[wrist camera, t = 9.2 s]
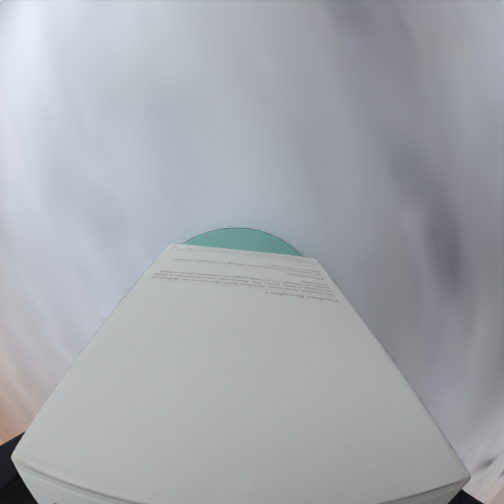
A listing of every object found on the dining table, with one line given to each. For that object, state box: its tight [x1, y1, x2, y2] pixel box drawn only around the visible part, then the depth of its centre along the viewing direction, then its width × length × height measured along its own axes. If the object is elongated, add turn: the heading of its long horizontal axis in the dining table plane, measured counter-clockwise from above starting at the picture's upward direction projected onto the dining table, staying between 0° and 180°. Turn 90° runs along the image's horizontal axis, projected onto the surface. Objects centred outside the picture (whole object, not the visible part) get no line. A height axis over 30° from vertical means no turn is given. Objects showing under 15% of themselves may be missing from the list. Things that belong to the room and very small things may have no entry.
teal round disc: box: [184, 228, 302, 257], centre depth 16 cm, size 9×9×1 cm
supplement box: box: [11, 243, 471, 504], centre depth 10 cm, size 7×7×13 cm
